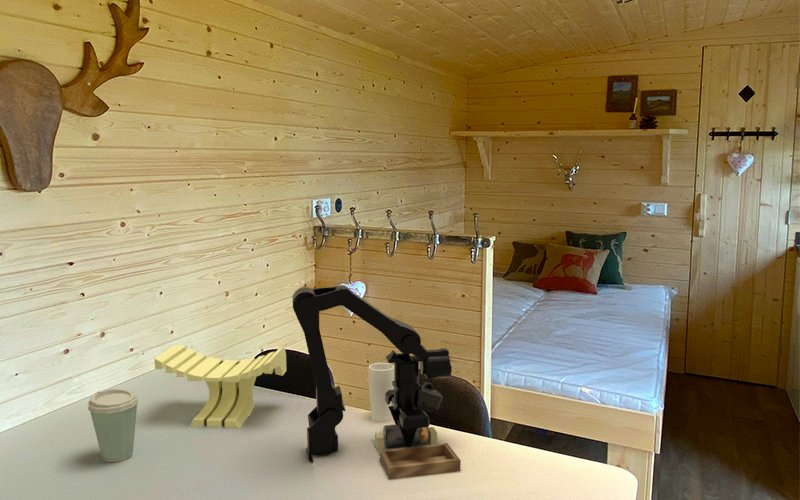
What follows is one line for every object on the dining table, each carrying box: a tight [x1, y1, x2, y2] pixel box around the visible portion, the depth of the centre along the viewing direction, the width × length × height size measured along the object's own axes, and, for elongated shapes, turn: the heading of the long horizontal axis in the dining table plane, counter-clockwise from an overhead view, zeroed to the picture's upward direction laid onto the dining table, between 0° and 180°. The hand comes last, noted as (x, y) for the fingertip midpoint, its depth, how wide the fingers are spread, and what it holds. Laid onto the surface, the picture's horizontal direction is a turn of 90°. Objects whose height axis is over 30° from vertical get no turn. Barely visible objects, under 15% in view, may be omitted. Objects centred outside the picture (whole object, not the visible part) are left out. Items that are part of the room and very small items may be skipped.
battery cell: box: [382, 423, 429, 447], centre depth 156 cm, size 10×5×5 cm, turn 105°
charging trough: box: [379, 442, 462, 481], centre depth 145 cm, size 16×9×4 cm, turn 105°
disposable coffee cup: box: [87, 387, 139, 463], centre depth 150 cm, size 11×11×15 cm
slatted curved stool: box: [154, 344, 287, 429], centre depth 175 cm, size 30×16×18 cm, turn 85°
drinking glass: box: [368, 362, 394, 423], centre depth 172 cm, size 7×7×15 cm
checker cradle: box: [371, 426, 439, 457], centre depth 156 cm, size 15×9×4 cm, turn 105°
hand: (405, 442), depth 156 cm, fingers closed on battery cell, 5 cm apart
